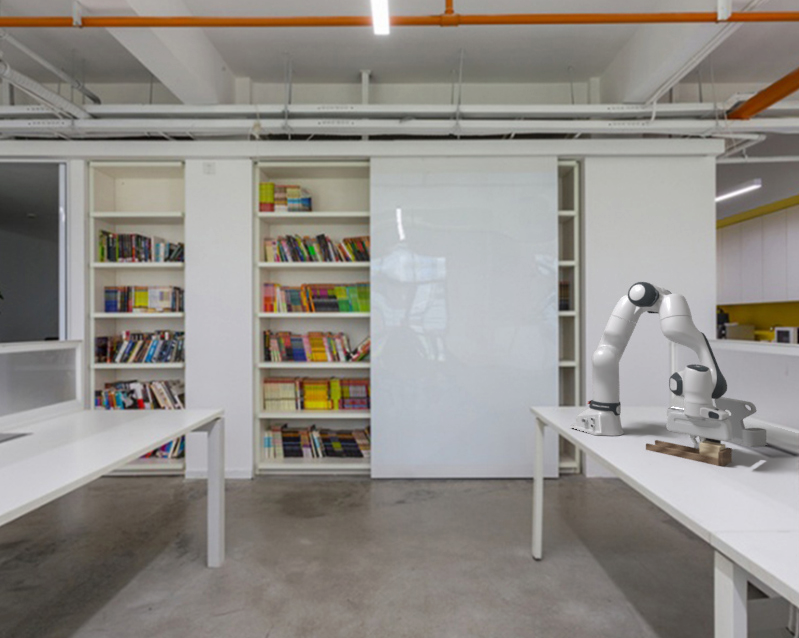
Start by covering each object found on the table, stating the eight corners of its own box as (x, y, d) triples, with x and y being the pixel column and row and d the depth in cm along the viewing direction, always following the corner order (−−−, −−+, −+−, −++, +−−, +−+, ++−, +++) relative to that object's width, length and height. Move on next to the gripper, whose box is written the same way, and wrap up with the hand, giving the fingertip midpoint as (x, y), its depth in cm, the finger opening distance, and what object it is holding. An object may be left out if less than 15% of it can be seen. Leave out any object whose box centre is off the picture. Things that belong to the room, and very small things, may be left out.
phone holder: (770, 445, 183) (770, 401, 183) (751, 447, 180) (751, 402, 180) (728, 435, 199) (728, 394, 199) (710, 436, 197) (710, 395, 197)
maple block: (699, 460, 160) (699, 443, 160) (705, 457, 163) (705, 440, 163) (719, 464, 155) (719, 447, 155) (725, 461, 158) (725, 444, 158)
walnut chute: (645, 452, 173) (645, 437, 173) (656, 448, 178) (656, 433, 178) (722, 470, 153) (722, 452, 153) (731, 465, 158) (731, 448, 158)
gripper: (663, 406, 169) (663, 443, 169) (728, 416, 153) (728, 456, 153) (670, 404, 173) (670, 440, 173) (734, 413, 156) (734, 453, 156)
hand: (698, 448), depth 163 cm, fingers closed
